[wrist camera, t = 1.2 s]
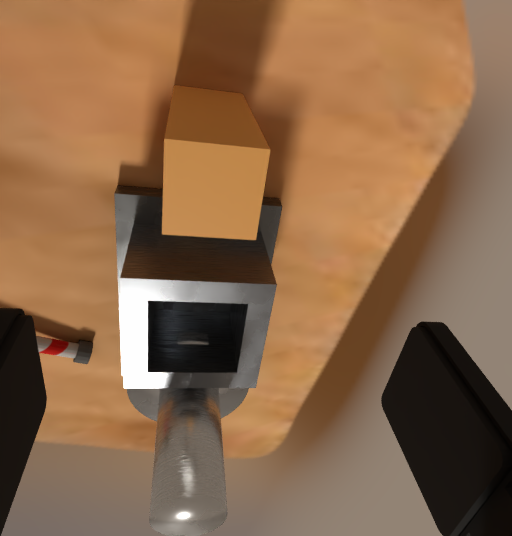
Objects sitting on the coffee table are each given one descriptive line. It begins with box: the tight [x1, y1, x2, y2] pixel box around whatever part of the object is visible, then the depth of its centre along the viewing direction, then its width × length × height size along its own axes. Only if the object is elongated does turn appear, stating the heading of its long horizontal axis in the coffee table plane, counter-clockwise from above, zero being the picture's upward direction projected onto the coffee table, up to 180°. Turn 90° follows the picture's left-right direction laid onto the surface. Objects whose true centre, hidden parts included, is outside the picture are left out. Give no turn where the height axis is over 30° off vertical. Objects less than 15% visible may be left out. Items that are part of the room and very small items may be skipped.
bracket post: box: [115, 185, 282, 536], centre depth 30 cm, size 20×12×16 cm, turn 172°
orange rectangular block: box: [162, 85, 270, 240], centre depth 24 cm, size 4×4×12 cm
